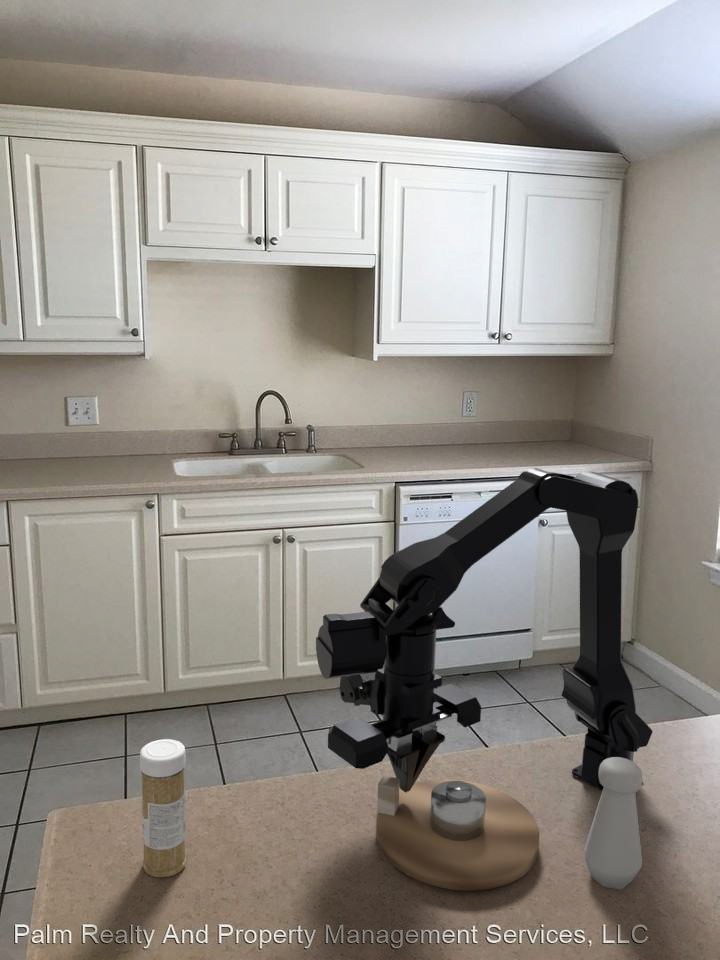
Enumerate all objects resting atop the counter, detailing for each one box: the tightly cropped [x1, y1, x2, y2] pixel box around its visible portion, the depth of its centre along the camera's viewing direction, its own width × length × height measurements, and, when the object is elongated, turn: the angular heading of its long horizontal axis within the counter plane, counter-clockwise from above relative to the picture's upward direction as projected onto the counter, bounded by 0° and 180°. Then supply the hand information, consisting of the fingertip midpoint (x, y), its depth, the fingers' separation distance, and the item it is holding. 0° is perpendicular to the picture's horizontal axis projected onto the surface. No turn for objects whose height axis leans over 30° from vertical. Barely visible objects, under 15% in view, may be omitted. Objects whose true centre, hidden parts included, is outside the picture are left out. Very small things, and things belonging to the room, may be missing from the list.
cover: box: [430, 780, 486, 841], centre depth 92 cm, size 6×6×4 cm
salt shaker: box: [584, 757, 644, 891], centre depth 86 cm, size 6×6×13 cm
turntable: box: [375, 775, 540, 891], centre depth 92 cm, size 18×18×5 cm
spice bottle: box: [139, 738, 187, 878], centre depth 86 cm, size 5×5×14 cm
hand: (404, 790), depth 97 cm, fingers closed
